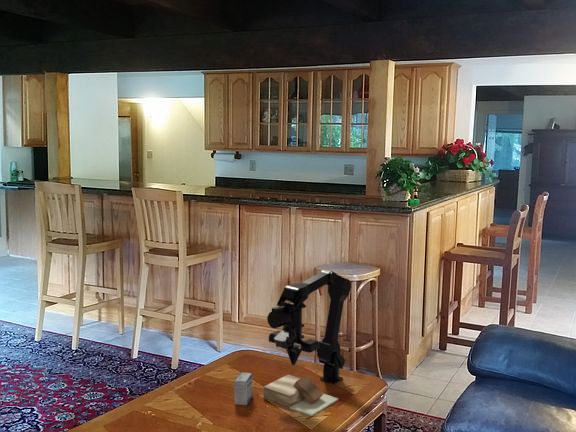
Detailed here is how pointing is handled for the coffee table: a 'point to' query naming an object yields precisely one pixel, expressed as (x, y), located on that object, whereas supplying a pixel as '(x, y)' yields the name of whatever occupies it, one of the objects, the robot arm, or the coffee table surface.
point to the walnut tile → (308, 389)
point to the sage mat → (314, 405)
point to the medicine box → (243, 388)
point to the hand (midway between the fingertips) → (293, 364)
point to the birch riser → (283, 391)
